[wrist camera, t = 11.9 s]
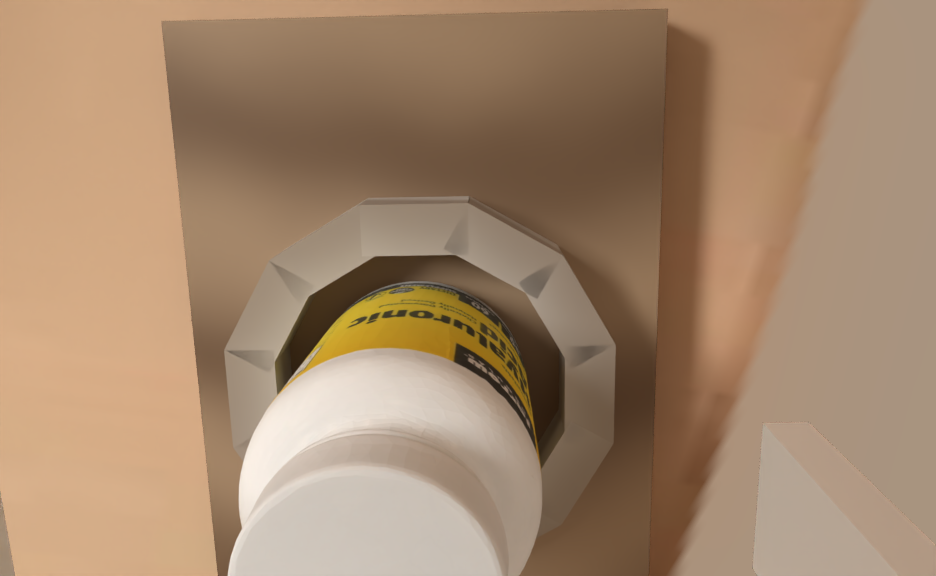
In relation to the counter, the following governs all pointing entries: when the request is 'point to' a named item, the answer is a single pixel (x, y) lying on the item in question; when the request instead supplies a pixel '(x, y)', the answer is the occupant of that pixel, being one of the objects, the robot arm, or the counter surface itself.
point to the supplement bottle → (396, 448)
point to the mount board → (435, 226)
